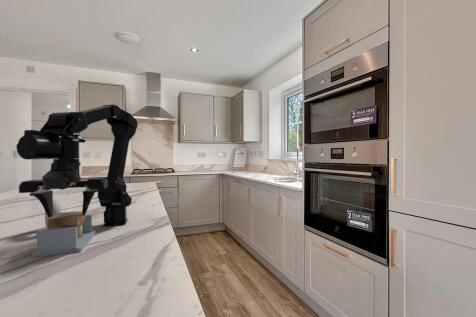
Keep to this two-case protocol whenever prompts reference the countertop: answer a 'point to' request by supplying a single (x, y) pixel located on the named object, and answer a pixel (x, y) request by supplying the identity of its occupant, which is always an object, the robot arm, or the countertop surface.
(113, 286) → the countertop surface
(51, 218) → the walnut block
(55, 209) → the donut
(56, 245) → the peg stand
